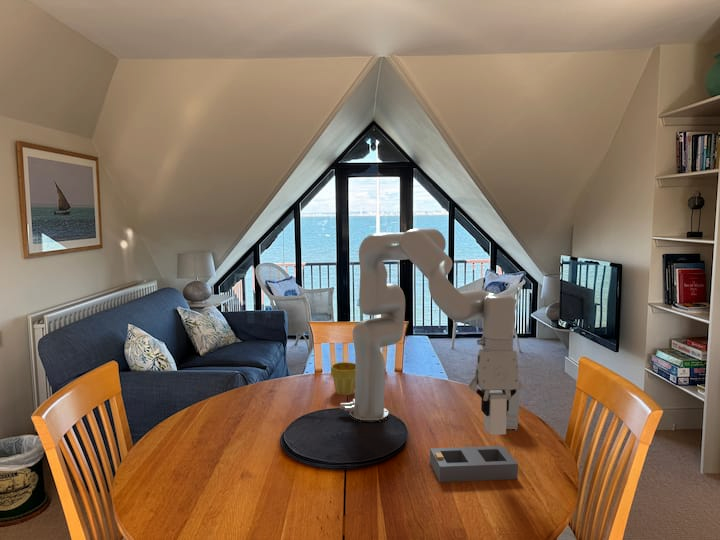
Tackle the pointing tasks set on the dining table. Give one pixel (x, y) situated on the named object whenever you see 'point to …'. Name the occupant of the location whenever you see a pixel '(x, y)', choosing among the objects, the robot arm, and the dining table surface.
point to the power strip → (473, 463)
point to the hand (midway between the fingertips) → (494, 413)
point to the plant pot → (344, 377)
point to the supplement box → (513, 412)
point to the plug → (496, 413)
